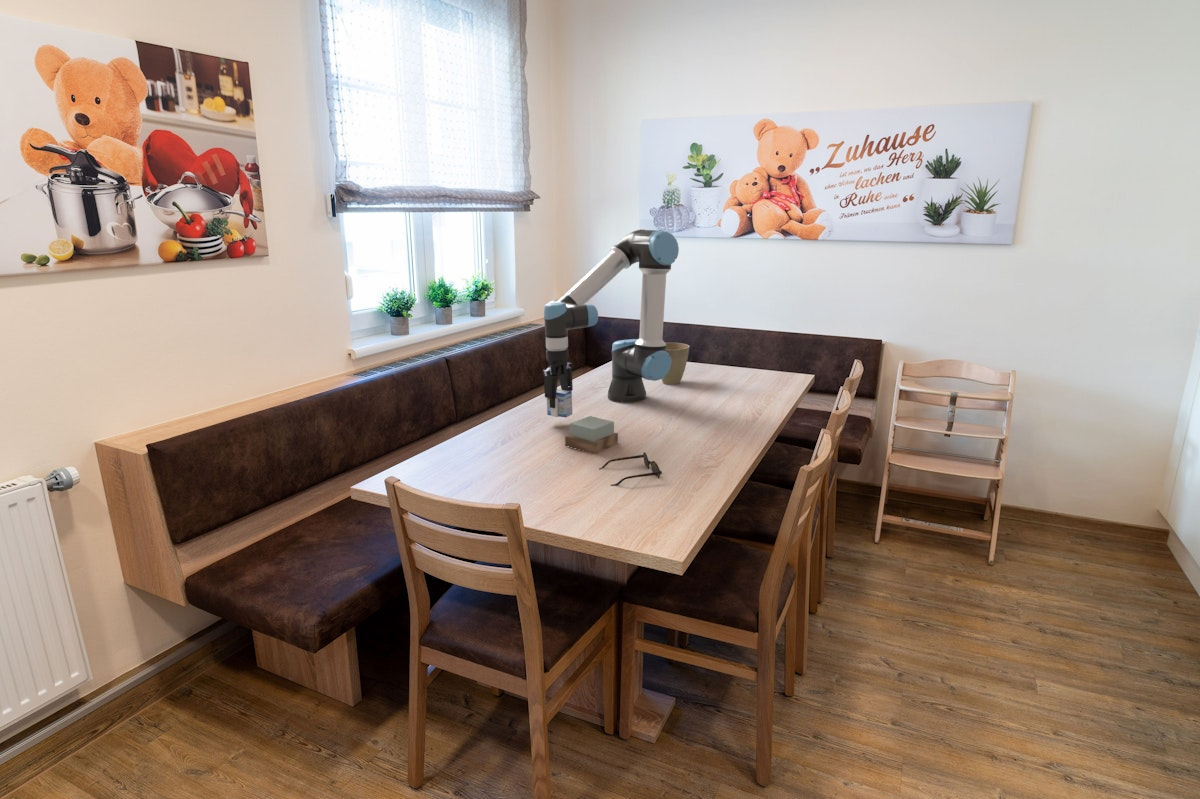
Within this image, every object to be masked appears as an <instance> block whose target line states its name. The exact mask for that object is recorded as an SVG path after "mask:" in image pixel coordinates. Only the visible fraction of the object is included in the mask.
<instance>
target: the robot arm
mask: <svg viewBox="0 0 1200 799" xmlns="http://www.w3.org/2000/svg"><path fill="white" fill-rule="evenodd" d="M679 250H680V249H679V243H678V241H677V239H676V237H675V236H674V235H673V234H672V233H670V232H668V231H664V230H661V229H659V230H657V229H656V230H654V229H653V230H652V229H638V230H637V229H636V230H634V231H632V232H630V233H629V234H626V235H625V236H623V237H622V238H621V239H620V240H619V241H618V242H616V243H615V244H614V245H613V246H612V247H611V248H610V249H609V253H608V255H606V256H605V257H604V258H603V259H602V260H601V261H600V262H598V263H597V264H595V266H594V267H593V268H592V269H591V270H590V271H589V272H587V274H585V275H584V276H583V277H582V278H581V279H580V280H579V281H577V283H575V284H574V285H573V286H572V287H571V288H570V289H568V291H567V292H566V293H565V294H564V295H563V296H561V297H560V298H559V299H553V300H551V301H549V302H548V303H546V304H545V305H544V307H543V308H544V310H543V312H544V313H543V319H544V334H545V348H546V350H545V357H546V358H545V359H546V361H547V362H548V366H547V368H546V369H543V370H541V371H542V374H543V386H544V387H543V388H544V397H545V398H546V399H547V398H549V401H550V408H551V415H550V416H551V417H554V418H559V417H558V398H556V392H557V389H558V383H559V384H560V388H561V389H560V390H567V391H572V392H573V366H574V364H573V363H572V362H568V360H569V349H568V347H569V338H568V337H569V336H568V330H574V329H575V330H576V329H583V328H588V327H592V326H593V327H594V326H595V325H596V324H597V323H598V320H599V311H598V309H597V307H596V306H595V305H593V304H587V303H588V302H589V301H590V300H591V299H592V298H593V297H595V295H596V294H599V292H600V291H601V290H602V289H603V288H604V287H605V286H606V285H607V284H608V283H610V282H611V281H612V280H613V279H614V278H615V277H616V276H618V274H619V273H621V271H623V270H625V269H626V270H627V269H629V268H630V267H631V266H632V265H633V264H637V263H638V269H639V271H640V272H641V273H642V281H641V283H642V284H641V301H640V314H639V315H640V316H639V317H640V318H639V336H638V338H632V339H631V338H630V339H622V340H616V341H614V342H613V343H612V345H611V346H612V348H611V371H612V372H611V375H612V376H611V381H610V385H609V387H608V391H607V398H608V399H609V401H612V402H617V403H625V404H626V403H638V402H643V401H645V400H646V398H647V391H646V388H645V385H644V382H643V379H644V380H647V381H653V382H656V381H660V380H662V378H664V377H665V375H666V374H667V373H668V372H669V370H670V367H671V357H670V356H669V354H668V353H667V352H666V343H667V342H665V341H664V339H663V334H664V333H663V332H664V321H665V320H664V319H665V302H666V301H665V300H666V285H667V274H668V273H669V272H670V271H671V270H672V264H674V263H675V262H676V259H677V258H678V256H679Z"/></svg>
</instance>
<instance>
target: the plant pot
mask: <svg viewBox="0 0 1200 799" xmlns="http://www.w3.org/2000/svg"><path fill="white" fill-rule="evenodd" d="M665 343H666V352H667V353H668V354H669V356H670V357H671V367H670V370H669V372H668V373H667V374H666V375H665V377H664V378H662V379H661V382H662V384H664V385H669V386H670V385H671V386H675V385H679V384H681V381H682V378H683V376H684V373H685V370H686V367H687V362H688V357H689V353H690V345H689V344H687V343H681V342H665Z"/></svg>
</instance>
